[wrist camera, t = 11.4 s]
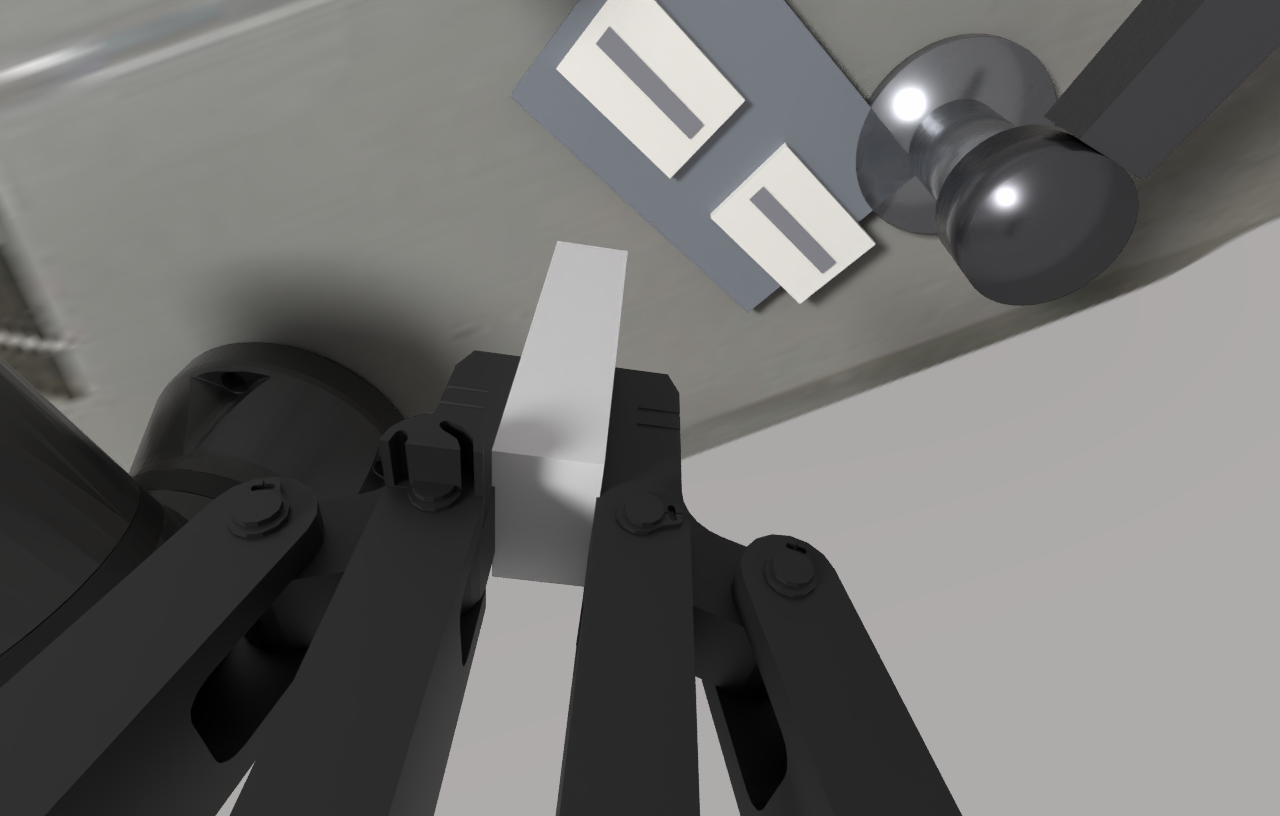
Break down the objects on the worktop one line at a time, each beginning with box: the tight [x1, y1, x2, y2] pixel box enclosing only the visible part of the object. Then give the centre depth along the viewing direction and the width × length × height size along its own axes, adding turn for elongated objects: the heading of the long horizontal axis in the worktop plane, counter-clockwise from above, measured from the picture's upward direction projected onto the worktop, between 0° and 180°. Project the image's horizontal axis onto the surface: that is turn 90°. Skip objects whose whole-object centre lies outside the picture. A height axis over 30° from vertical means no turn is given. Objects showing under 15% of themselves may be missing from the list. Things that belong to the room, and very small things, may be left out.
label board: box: [510, 0, 915, 312], centre depth 28 cm, size 10×16×1 cm, turn 48°
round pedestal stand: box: [856, 34, 1056, 234], centre depth 25 cm, size 8×8×6 cm
